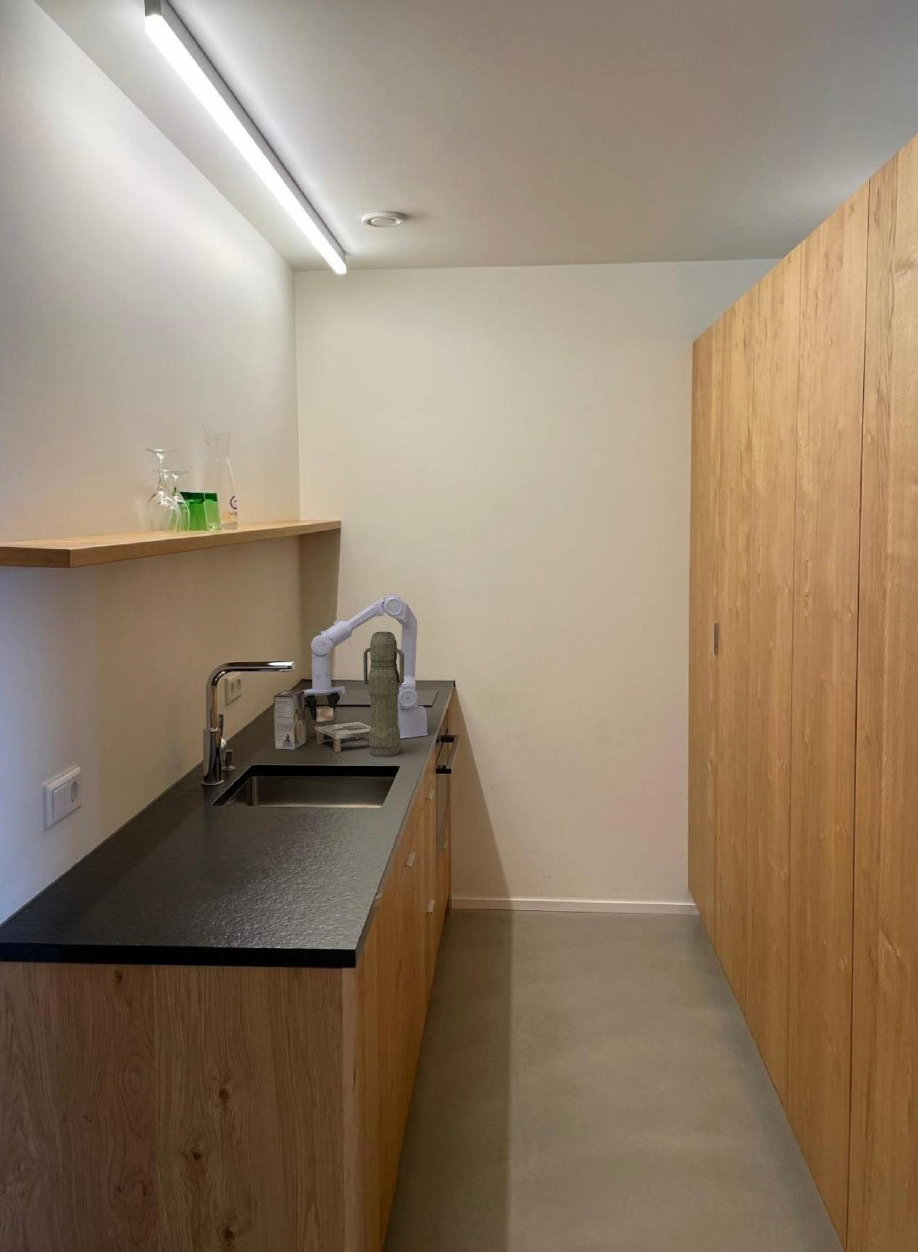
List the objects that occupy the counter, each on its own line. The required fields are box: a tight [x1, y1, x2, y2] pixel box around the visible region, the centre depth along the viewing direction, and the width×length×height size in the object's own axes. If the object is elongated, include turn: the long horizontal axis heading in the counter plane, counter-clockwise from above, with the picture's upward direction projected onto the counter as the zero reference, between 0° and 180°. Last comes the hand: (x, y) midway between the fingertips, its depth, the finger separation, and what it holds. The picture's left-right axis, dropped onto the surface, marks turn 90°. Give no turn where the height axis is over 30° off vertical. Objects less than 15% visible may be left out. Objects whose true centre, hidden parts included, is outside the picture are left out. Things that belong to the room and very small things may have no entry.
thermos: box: [363, 631, 404, 758], centre depth 275 cm, size 9×12×35 cm
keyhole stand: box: [316, 721, 371, 753], centre depth 287 cm, size 14×14×5 cm
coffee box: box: [273, 689, 307, 750], centre depth 286 cm, size 9×6×16 cm
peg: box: [314, 705, 334, 732], centre depth 296 cm, size 5×5×7 cm
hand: (322, 718), depth 296 cm, fingers closed on peg, 5 cm apart
